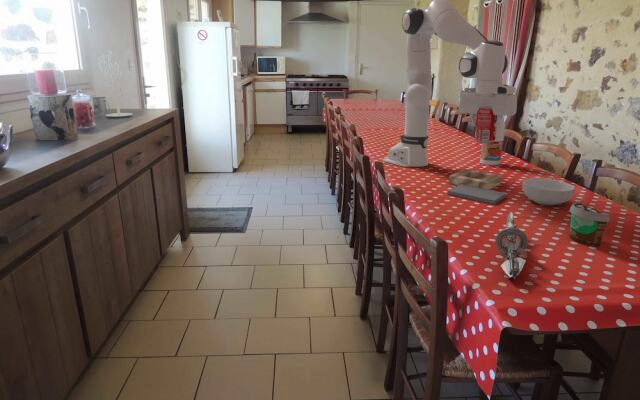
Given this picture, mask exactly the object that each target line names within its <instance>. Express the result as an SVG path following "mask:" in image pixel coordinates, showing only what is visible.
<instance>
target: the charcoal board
mask: <svg viewBox="0 0 640 400" xmlns="http://www.w3.org/2000/svg"><path fill="white" fill-rule="evenodd" d="M448 194H449V196H453V195H454V196H453V197H457V196H458V198H463V199H466V200H471V201H472V200H473V201H477V202H481V203H485V204H490V205H496V204H497V203H499V202H500V201H502V200H503V199H505V198H506V197H507V193H506V192H501V191H496V190H492V189H490V190H487V189H482V188H477V187H472V186H467V185H462V184H460V185H458V186H456V185H455V186H454V187H453V188H450V189H448V190H447V195H448Z"/></svg>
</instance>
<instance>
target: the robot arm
mask: <svg viewBox="0 0 640 400" xmlns="http://www.w3.org/2000/svg"><path fill="white" fill-rule="evenodd" d="M401 20H402V21H401V26H402V29H403V32H404V33H406V34H407V36H406V42H405V43H406V44H405V60H406V61H405V62H406V66H405V67H406V77H407V78H406V79H407V87H408V88H407V89H406V92H405V104H404V105H405V110H404V111H405V113H404V115H405V116H404V117H405V118H404V119H405V120H404V121H405V122H404V133H403V135H400V136H399V138H398V139H400V141H399V142H398V143H396V144H395V145H394V146H392V147H391V148H390V149H389V150H388V154H387V156H386V157H384V158H383V159H382V161H383V162H384V163H387V164H392V165H396V166H400V167H404V168H406V167H407V168H408V167H413V168H414V167H415V168H419V167H421V168H422V167H425V166H428V165H429V162H428V161H429V159H428V150H427V149H428V144H429V135H428V134H429V133H428V132H429V131H428V130H429V122H430V121H429V120H430V104H431V103H430V102H431V99H432V94H433V88H432V87H433V85H432V68H431V67H432V66H431V65H432V61H431V60H432V59H431V57H432V55H431V38H432V36H433V35H435V36H437V37H438V38H439V39H441V40H442V41H443V42H446V43H450V44H455V45H456V44H457V45H462V46H465V47H468V48H470V49H472V50H470V51H468V52H464V54H463V55H462V56H461V57H460V59H459V62H458V70H459V73H460V75H461V76H462V77H464V78H467V79H476V81H475V82H476V83H475V87H464V88H463V89H462V90H461V91H460V96H459V97H460V99H459V104H458V111H459V113H460V114H469V118H470V120H471V126H472V127H476V118H475V117H476V115H477V111H478V110H479V107H480V108H492V110H493V114H494V115H497V118H498V120H497V121H496V123H495V124H494V127H495V128H498V127H499V122H500V121H501V120H502V118H503V119H504V116H505V117H506V116H507V117H508V116H509V117H513V116H515V115H516V113H517V109H518V107H517V106H518V101H517V100H518V99H517V98H518V97H517V95H515V93H516V91H517V90H516V87H515V86H512V85H509V84H506V83H503V81H504V77H503V75H504V74H505V72H506V70H507V69H508V65H509V62H508V58H507V55H506V48H505V44H504V42H502V41H498V40H488V39H487V38H486V37H485V35H484V34H483V33H482V32H481V31H480V30H479V29H477V28H476V27H475V26H473V25H472V24H471V23H469V22H468V21H467V20H466V19H465V18H464V17H463V16H462V15H461V14H460V13H459V11H458V10H457V9H456V8H455V6H454V5H453V4H452V3H451V2H449V1H448V0H433V1H431V3H430V4H429V5H427V6H421V7H418V8H417V7H413V8H409V9H407V10H406V11H405V12H404V13H403V15H402V19H401Z"/></svg>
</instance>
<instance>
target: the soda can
mask: <svg viewBox="0 0 640 400" xmlns="http://www.w3.org/2000/svg"><path fill="white" fill-rule="evenodd" d="M475 120H476V126H475V134H474V135H475V136H474V140H475V142H476V143H478V144H483V143H493V142H494V141H495V137H496V128H495V127H494V124H495V123H496V121H497V115H494V114H493V110H492V108H480V107H479V110H478V111H477V114H476V118H475Z"/></svg>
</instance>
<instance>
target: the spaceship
mask: <svg viewBox="0 0 640 400" xmlns="http://www.w3.org/2000/svg"><path fill="white" fill-rule="evenodd" d="M514 216H515V213H514V212H512V211H510V212H509V214H508V215H507V216H506V227H505V228H503V229H501V230H500V231H499V232H498V233H497V235H496V236H495V245H496V247H497V253H499V254H500V255H501V256H503V257H504V261H503V263H502V264H501V265H500V267H501V268H502V270H503V272H504V273H505V274H506V275H507V276H508V277H509V278H510V279H513V280H515V279H516V278H517V276H519V275H520V273H521V271H522V270H523V268H524V265H525V264H526V262H527V260H526V259H524V258H522V257H518V256H517V254H521V255H522V256H524V257H525V258H527V259H528V252H527V251H526V250H525V249H526V248H527V247H528V244H529V239H528V236H527V235H526V233H525V232H524V231H523V230H521V229H520V228H517V224H516V223H515V220H514ZM517 237H519V238H518V239H517ZM504 239H506V240H504Z"/></svg>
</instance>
